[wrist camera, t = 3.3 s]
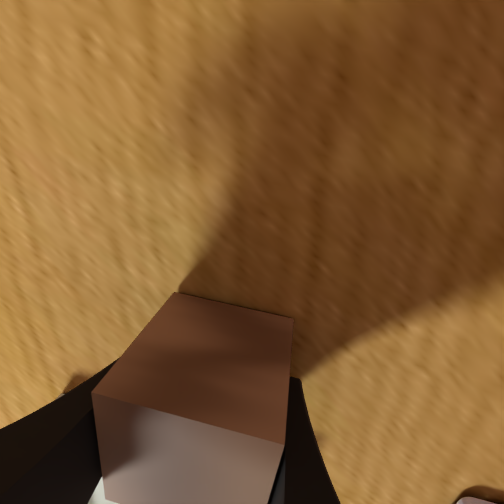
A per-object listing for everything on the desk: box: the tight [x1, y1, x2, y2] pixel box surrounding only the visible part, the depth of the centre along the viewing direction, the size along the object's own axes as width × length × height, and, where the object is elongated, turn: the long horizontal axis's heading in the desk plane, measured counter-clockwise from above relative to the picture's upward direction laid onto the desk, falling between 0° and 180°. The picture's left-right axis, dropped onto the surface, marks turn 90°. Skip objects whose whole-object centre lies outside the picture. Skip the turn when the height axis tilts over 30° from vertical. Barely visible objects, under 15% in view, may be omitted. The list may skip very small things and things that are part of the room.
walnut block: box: [91, 292, 294, 504], centre depth 10 cm, size 5×5×5 cm
